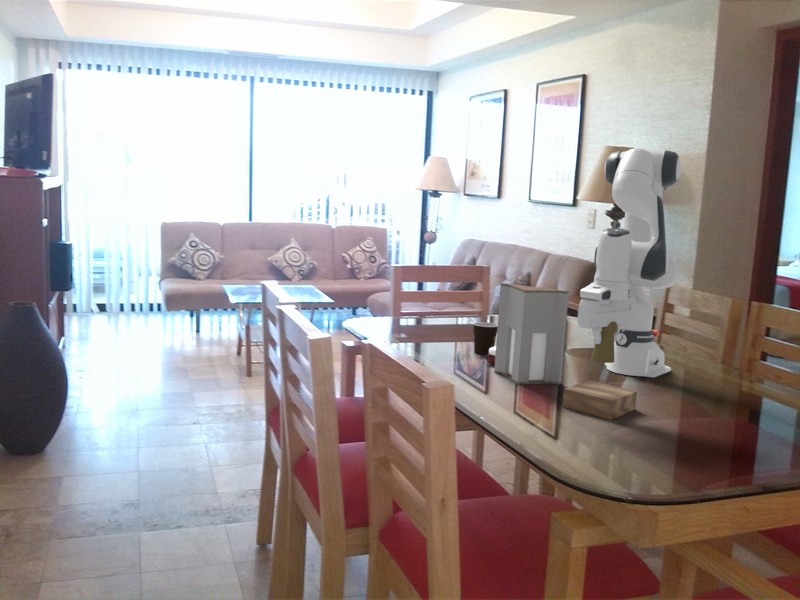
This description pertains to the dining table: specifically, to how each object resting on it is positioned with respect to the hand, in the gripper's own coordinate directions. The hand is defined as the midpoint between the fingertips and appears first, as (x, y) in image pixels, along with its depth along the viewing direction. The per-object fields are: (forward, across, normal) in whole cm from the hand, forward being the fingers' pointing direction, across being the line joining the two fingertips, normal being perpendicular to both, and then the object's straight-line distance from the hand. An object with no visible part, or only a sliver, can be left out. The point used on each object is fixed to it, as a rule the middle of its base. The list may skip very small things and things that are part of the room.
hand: (605, 342), depth 201 cm
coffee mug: (+18, -19, -63) cm, 68 cm away
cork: (+5, 0, 0) cm, 5 cm away
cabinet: (+18, -2, -30) cm, 35 cm away
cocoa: (+18, -10, -48) cm, 52 cm away
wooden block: (+18, 0, 0) cm, 18 cm away
